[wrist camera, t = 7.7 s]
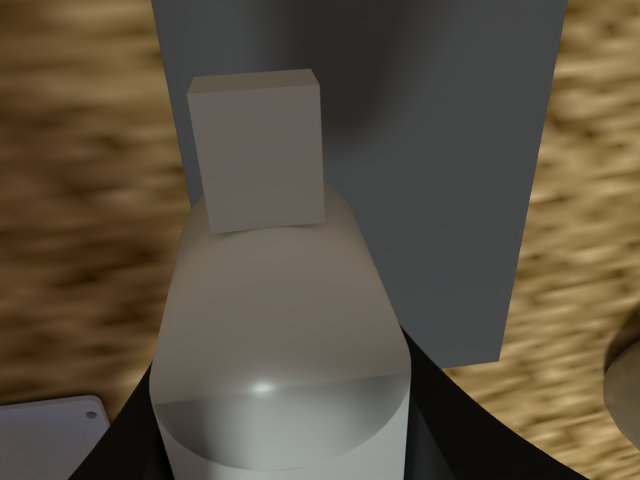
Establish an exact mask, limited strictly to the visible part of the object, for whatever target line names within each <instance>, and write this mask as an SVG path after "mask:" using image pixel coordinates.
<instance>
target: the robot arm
mask: <svg viewBox="0 0 640 480" xmlns="http://www.w3.org/2000/svg"><path fill="white" fill-rule="evenodd" d="M399 325H400V324H399ZM400 328H401V330H402V333H403V335H404V337H405V340H406V343H407V345H408V348H409V353H410V358H411V380H410V394H409V408H408V422H407V436H406V450H405V464H404V478H403V480H589V479H588V478H586V477H584V476H583V475H581V474H579V473H577V472H576V471H574V470H572V469H570V468H569V467H567V466H565V465H563V464H562V463H560V462H559V461H557V460H555V459H554V458H552V457H551V456H549V455H548V454H546V453H545V452H543V451H542V450H540V449H539V448H537V447H535V446H534V445H532V444H531V443H529V442H528V441H526V440H525V439H523V438H522V437H520V436H519V435H518V434H516V433H515V432H513V431H512V430H511V429H509V428H508V427H507V426H505V425H504V424H503V423H501V422H500V421H499V420H497V419H496V418H495V417H494V416H492V415H491V414H490V413H489V412H487V411H486V410H485V409H484V408H482V407H481V406H480V405H479V404H478V403H477V402H475V401H474V400H473V399H472V398H471V397H470V396H469V395H467V394H466V393H465V392H464V391H463V390H462V389H461V388H460V387H459V386H457V385H456V384H455V383H454V382H453V381H452V380H451V379H450V378H449V377H448V376H447V375H446V374H445V373H444V372H443V371H442V370H441V369H440V368H439V367H438V366H437V365H436V364H435V363H434V362H433V361H432V360H431V359H430V358H429V357H428V356H427V355H426V354H425V352H424V351H423V350H422V349H421V348H420V347H419V346H418V345H417V344H416V343H415V341H414V340H413V339H412V338H411V337H410V336H409V335H408V333H407V332H406V331H405V330H404V329H403V328H402V326H401V325H400ZM152 362H153V360H152ZM152 362H151V364H150V366H149V367H148V369H147V371H146V372H145V374H144V376H143V377H142V379H141V380H140V382H139V384H138V385H137V387H136V388H135V390H134V391H133V393H132V394H131V396H130V397H129V399H128V401H127V402H126V404H125V405H124V407H123V408H122V410H121V411H120V413H119V414H118V415H117V417H116V418H115V420H114V421H113V422H112V424H111V425H110V423H109V420H108V418H107V415H106V412H105V410H104V407H103V405H102V402H101V400H100V399H99V398H98V397H96V396H93V395H85V396H77V397H69V398H61V399H53V400H45V401H38V402H30V403H22V404H14V405H6V406H0V480H175V478H174V475H173V472H172V468H171V465H170V462H169V459H168V455H167V452H166V449H165V446H164V442H163V439H162V436H161V432H160V429H159V426H158V423H157V419H156V416H155V413H154V410H153V406H152V402H151V397H150V392H149V378H150V373H151V367H152ZM93 412H95V413H93Z"/></svg>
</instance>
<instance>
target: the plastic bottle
mask: <svg viewBox="0 0 640 480" xmlns="http://www.w3.org/2000/svg"><path fill="white" fill-rule="evenodd" d="M603 393H604V403H605V406H606V408H607V410H608V411H609V413H610V415H611V417H612V419H613V420H614V422H615V424H616V426H617V428H618V429H619V430H620V431H621V433H622V434H623V435H624V436H625V437H626V438H627V439H628V440H629V441H630V442H631V443H632V444H633V445H634V446H635V447H636V448H637V449H638V450H639V451H640V340H639V341H637V342H636V343H634V344H632V345H631V346H629V347H628V348H627V349H625V350H624V351H623V352H622V353H620V354H619V356H618V357H617V358H616V359H615V360H614V361H613V362H612V364H611V365H610V366H609V368H608V370H607V372H606V374H605V377H604V381H603Z"/></svg>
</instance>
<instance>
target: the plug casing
mask: <svg viewBox="0 0 640 480" xmlns="http://www.w3.org/2000/svg"><path fill="white" fill-rule="evenodd" d="M187 99H188V104H189V110H190V116H191V121H192V127H193V133H194V139H195V144H196V150H197V156H198V162H199V167H200V173H201V179H202V184H203V190H204V194H203V195H202V196H201V197H200V198H199V199H198V201H197V202H196V203H195V205H194V206H193V208H192V209H191V211H190V213H189V214H188V216H187V218H186V221H185V224H184V227H183V230H182V234H181V238H180V243H179V247H178V252H177V256H176V261H175V265H174V269H173V274H172V278H171V283H170V287H169V292H168V296H167V300H166V305H165V309H164V314H163V318H162V323H161V327H160V331H159V336H158V340H157V345H156V349H155V353H154V358H153V362H152V367H151V373H150V378H149V392H150V397H151V402H152V406H153V410H154V413H155V416H156V419H157V423H158V426H159V429H160V432H161V436H162V439H163V442H164V446H165V449H166V452H167V455H168V459H169V462H170V465H171V468H172V472H173V475H174V478H175V480H403V478H404V464H405V450H406V436H407V422H408V408H409V394H410V380H411V358H410V353H409V348H408V345H407V343H406V340H405V337H404V335H403V333H402V330H401V328H400V325H399V323H398V320H397V318H396V316H395V313H394V311H393V308H392V306H391V303H390V301H389V299H388V296H387V294H386V291H385V289H384V286H383V284H382V282H381V279H380V277H379V274H378V272H377V269H376V267H375V265H374V262H373V260H372V257H371V255H370V252H369V250H368V248H367V245H366V243H365V240H364V238H363V235H362V233H361V231H360V228H359V226H358V223H357V221H356V219H355V216H354V214H353V212H352V210H351V208H350V207H349V205H348V203H347V202H346V201H345V199H344V198H343V197H342V196H341V195H340V194H339V193H338V192H337V191H336V190H335V189H334V188H333V187H331V186H330V185H329V184H327V183H326V182H324V181H323V158H322V133H321V108H320V84H319V83H318V81H317V79H316V77H315V76H314V74H313V72H312V70H311V69H299V70H284V71H270V72H255V73H241V74H226V75H212V76H198V77H194V78H193V80H192V83H191V85H190V87H189V90H188V92H187Z"/></svg>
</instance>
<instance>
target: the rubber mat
mask: <svg viewBox="0 0 640 480" xmlns="http://www.w3.org/2000/svg"><path fill="white" fill-rule="evenodd" d="M567 1H568V0H151V2H152V7H153V13H154V18H155V23H156V28H157V33H158V39H159V44H160V49H161V54H162V59H163V64H164V70H165V75H166V80H167V85H168V90H169V95H170V101H171V106H172V111H173V116H174V121H175V127H176V132H177V137H178V142H179V147H180V152H181V158H182V163H183V168H184V173H185V178H186V183H187V189H188V194H189V199H190V204H191V209H192V208H193V206H194V205H195V203H196V202H197V201H198V199H199V198H200V197H201V196H202V195H203V194H204V190H203V184H202V179H201V173H200V167H199V162H198V156H197V150H196V144H195V139H194V133H193V127H192V121H191V116H190V110H189V104H188V99H187V92H188V90H189V87H190V85H191V83H192V80H193V78H194V77H198V76H212V75H226V74H241V73H255V72H270V71H284V70H299V69H311V70H312V72H313V74H314V76H315V77H316V79H317V81H318V83H319V84H320V108H321V133H322V158H323V181H324V182H326V183H327V184H329V185H330V186H331V187H333V188H334V189H335V190H336V191H337V192H338V193H339V194H340V195H341V196H342V197H343V198H344V199H345V201H346V202H347V203H348V205H349V207H350V208H351V210H352V212H353V214H354V216H355V219H356V221H357V223H358V226H359V228H360V231H361V233H362V235H363V238H364V240H365V243H366V245H367V248H368V250H369V252H370V255H371V257H372V260H373V262H374V265H375V267H376V269H377V272H378V274H379V277H380V279H381V282H382V284H383V286H384V289H385V291H386V294H387V296H388V299H389V301H390V303H391V306H392V308H393V311H394V313H395V316H396V318H397V320H398V323H399V324H400V325H401V326H402V328H403V329H404V330H405V331H406V332H407V333H408V335H409V336H410V337H411V338H412V339H413V340H414V341H415V343H416V344H417V345H418V346H419V347H420V348H421V349H422V350H423V351H424V352H425V354H426V355H427V356H428V357H429V358H430V359H431V360H432V361H433V362H434V363H435V364H436V365H437V366H438V367H439V368H440V369H443V368H451V367H458V366H466V365H474V364H482V363H489V362H497V361H499V357H500V351H501V346H502V341H503V336H504V330H505V325H506V320H507V315H508V309H509V304H510V299H511V294H512V289H513V283H514V278H515V273H516V268H517V262H518V257H519V252H520V247H521V241H522V236H523V231H524V226H525V221H526V215H527V210H528V205H529V200H530V194H531V189H532V184H533V179H534V173H535V168H536V163H537V158H538V152H539V147H540V142H541V137H542V132H543V126H544V121H545V116H546V111H547V105H548V100H549V95H550V90H551V84H552V79H553V74H554V69H555V64H556V58H557V53H558V48H559V43H560V37H561V32H562V27H563V22H564V16H565V11H566V6H567Z"/></svg>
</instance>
